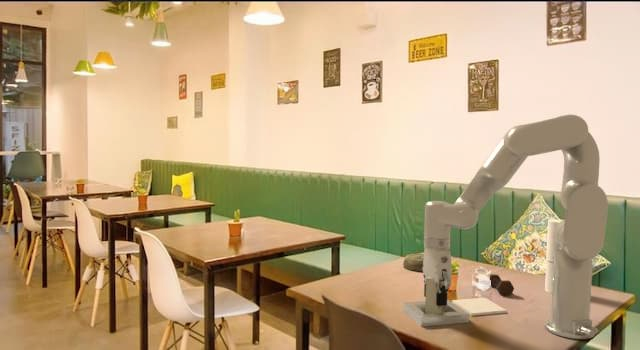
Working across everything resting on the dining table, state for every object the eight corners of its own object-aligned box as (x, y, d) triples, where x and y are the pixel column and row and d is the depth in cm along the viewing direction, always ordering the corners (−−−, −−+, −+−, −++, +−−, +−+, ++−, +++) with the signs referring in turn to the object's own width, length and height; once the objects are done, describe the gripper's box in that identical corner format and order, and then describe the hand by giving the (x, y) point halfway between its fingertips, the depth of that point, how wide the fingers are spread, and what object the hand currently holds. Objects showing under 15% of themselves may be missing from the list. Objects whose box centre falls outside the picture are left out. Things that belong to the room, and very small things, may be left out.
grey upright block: (438, 321, 142) (439, 280, 141) (424, 318, 144) (425, 278, 143) (445, 314, 147) (446, 275, 146) (431, 311, 149) (432, 272, 148)
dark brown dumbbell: (491, 287, 180) (508, 299, 165) (479, 281, 180) (495, 292, 165) (499, 274, 180) (516, 285, 165) (487, 267, 180) (504, 278, 165)
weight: (417, 274, 191) (417, 261, 191) (396, 266, 203) (396, 254, 202) (443, 269, 198) (443, 257, 197) (421, 262, 209) (421, 250, 209)
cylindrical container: (565, 295, 165) (568, 223, 163) (542, 291, 170) (545, 221, 168) (569, 290, 171) (572, 220, 169) (547, 286, 175) (550, 218, 173)
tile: (506, 312, 149) (506, 310, 149) (471, 315, 146) (471, 313, 146) (484, 299, 160) (484, 297, 160) (451, 302, 158) (451, 300, 158)
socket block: (468, 322, 141) (469, 313, 141) (421, 326, 137) (421, 318, 137) (447, 307, 153) (447, 299, 153) (403, 310, 150) (403, 302, 150)
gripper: (463, 248, 136) (461, 310, 137) (434, 236, 153) (433, 291, 154) (439, 250, 134) (437, 312, 136) (412, 237, 151) (411, 292, 153)
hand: (435, 300), depth 145 cm, fingers closed on grey upright block, 7 cm apart
